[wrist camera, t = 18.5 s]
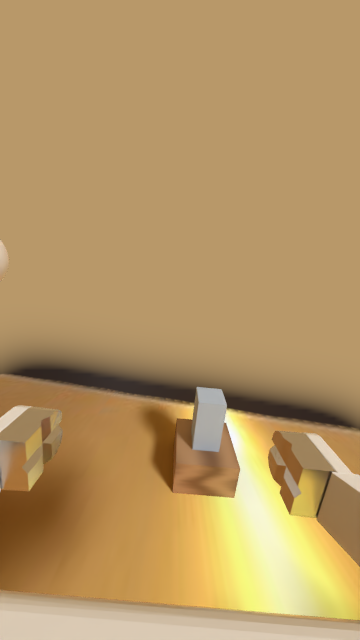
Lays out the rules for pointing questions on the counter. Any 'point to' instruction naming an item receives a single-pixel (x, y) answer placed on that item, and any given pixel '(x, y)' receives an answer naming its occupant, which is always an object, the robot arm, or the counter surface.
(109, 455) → the counter surface
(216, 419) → the slate block
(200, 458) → the walnut block
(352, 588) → the counter surface
